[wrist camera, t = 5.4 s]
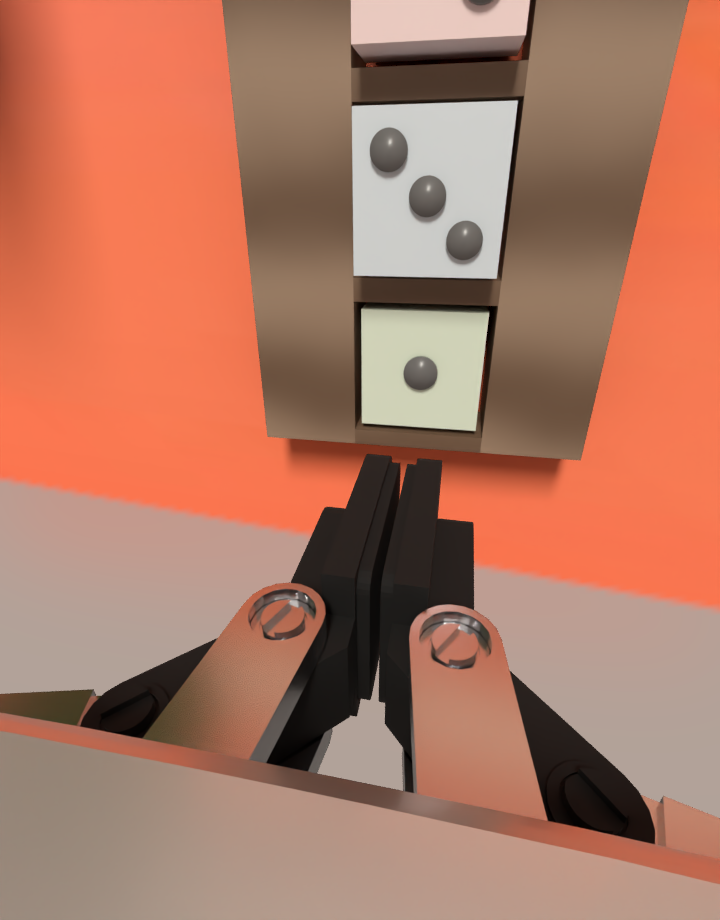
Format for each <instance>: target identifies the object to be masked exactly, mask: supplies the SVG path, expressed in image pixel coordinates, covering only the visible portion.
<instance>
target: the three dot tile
mask: <svg viewBox="0 0 720 920" xmlns="http://www.w3.org/2000/svg"><path fill="white" fill-rule="evenodd" d="M517 104H518V101H488V102H458V103H427V104H397V105H366V106H352V175H353V267H354V276H395V277H441V278H487V279H497V272H498V263H499V255H500V246H501V238H502V230H503V221H504V213H505V205H506V196H507V188H508V180H509V171H510V163H511V155H512V146H513V138H514V129H515V121H516V113H517Z"/></svg>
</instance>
